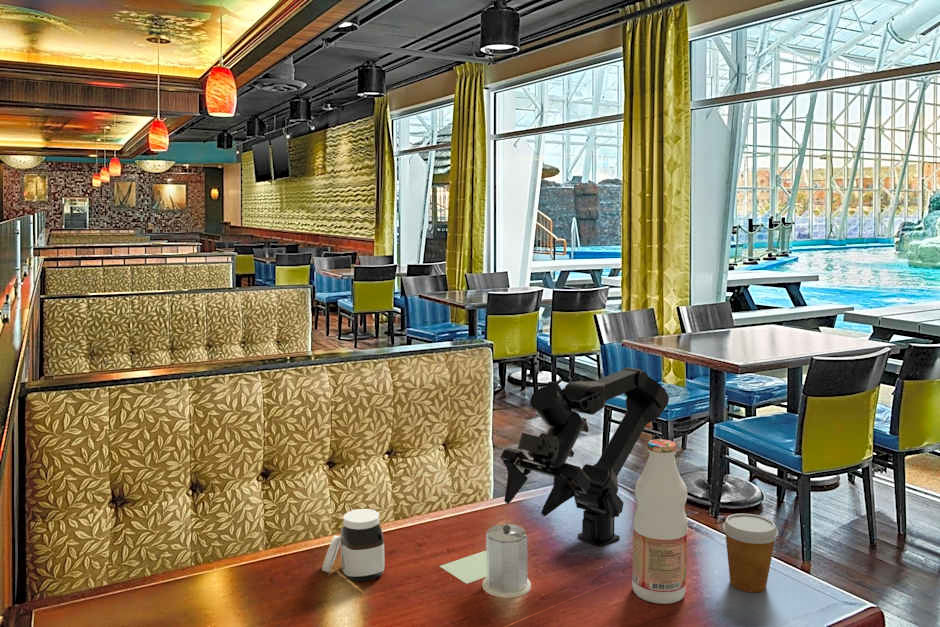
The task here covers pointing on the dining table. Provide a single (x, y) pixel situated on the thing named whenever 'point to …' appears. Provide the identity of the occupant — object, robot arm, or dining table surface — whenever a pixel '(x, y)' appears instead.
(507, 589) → the grey metal canister
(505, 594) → the teal puck on dish
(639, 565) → the fruit juice
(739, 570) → the disposable coffee cup
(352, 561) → the spread jar
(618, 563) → the dining table surface
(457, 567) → the sage placemat
